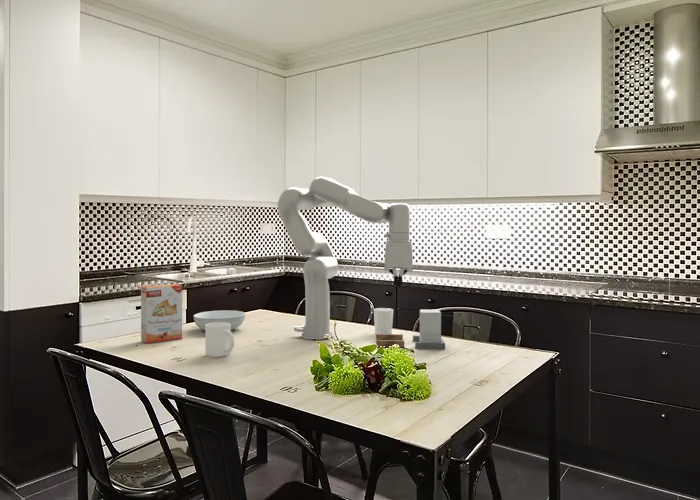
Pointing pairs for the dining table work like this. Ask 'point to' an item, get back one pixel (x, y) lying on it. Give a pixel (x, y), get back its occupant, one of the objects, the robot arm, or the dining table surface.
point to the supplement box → (430, 326)
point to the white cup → (383, 320)
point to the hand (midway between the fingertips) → (397, 286)
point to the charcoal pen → (428, 344)
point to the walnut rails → (389, 340)
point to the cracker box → (161, 313)
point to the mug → (218, 339)
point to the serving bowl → (219, 318)
